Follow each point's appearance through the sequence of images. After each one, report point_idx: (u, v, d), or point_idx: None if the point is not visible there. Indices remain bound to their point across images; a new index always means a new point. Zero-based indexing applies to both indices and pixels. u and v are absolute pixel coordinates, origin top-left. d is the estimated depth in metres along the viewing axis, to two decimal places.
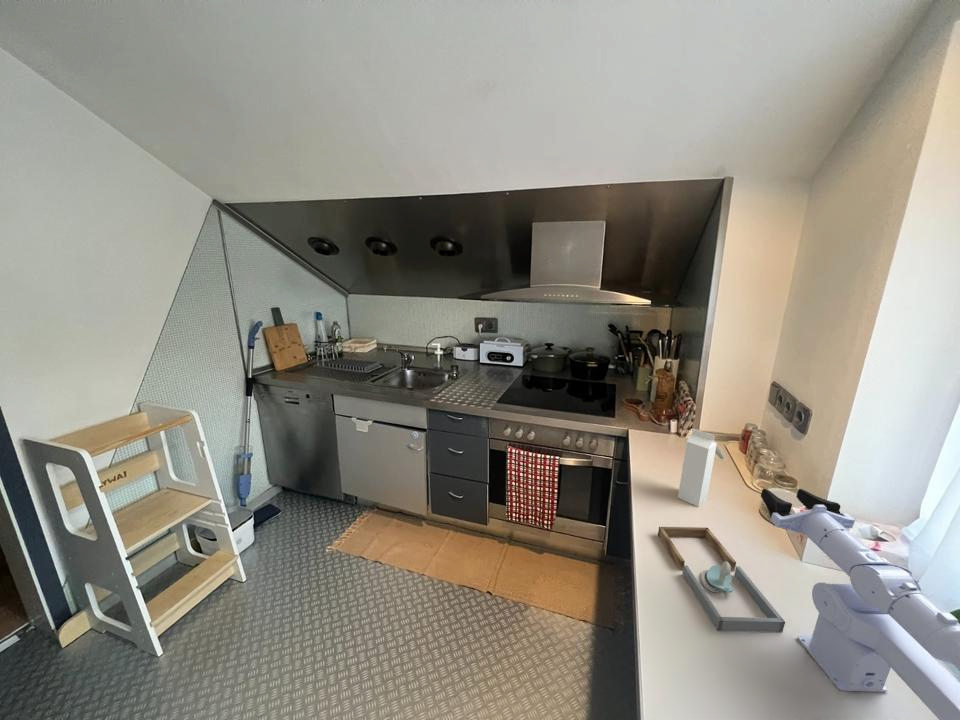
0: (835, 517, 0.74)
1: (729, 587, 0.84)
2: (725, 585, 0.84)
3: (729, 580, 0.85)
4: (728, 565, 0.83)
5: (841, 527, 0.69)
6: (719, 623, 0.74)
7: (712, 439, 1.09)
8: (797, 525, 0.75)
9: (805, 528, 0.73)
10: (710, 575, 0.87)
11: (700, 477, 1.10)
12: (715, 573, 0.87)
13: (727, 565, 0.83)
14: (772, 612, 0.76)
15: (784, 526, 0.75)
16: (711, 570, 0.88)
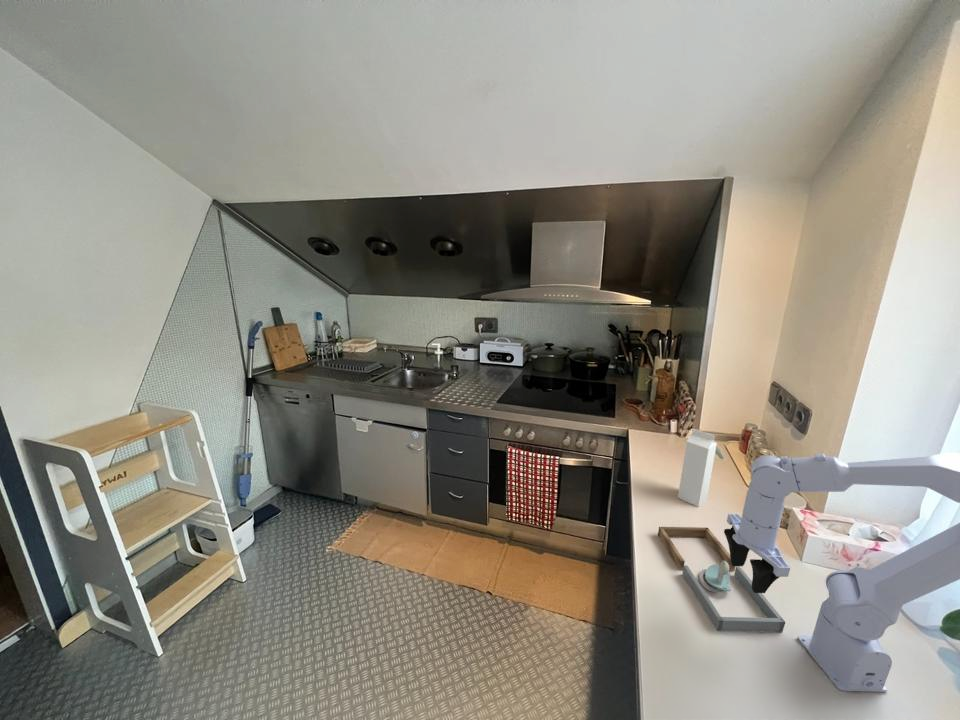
0: (737, 526, 0.77)
1: (727, 586, 0.84)
2: (723, 585, 0.84)
3: (728, 580, 0.85)
4: (726, 564, 0.83)
5: (743, 518, 0.73)
6: (719, 623, 0.74)
7: (712, 439, 1.09)
8: (771, 551, 0.70)
9: (768, 544, 0.70)
10: (708, 574, 0.87)
11: (700, 477, 1.10)
12: (713, 572, 0.87)
13: (725, 564, 0.83)
14: (772, 612, 0.76)
15: (782, 561, 0.68)
16: (709, 569, 0.88)
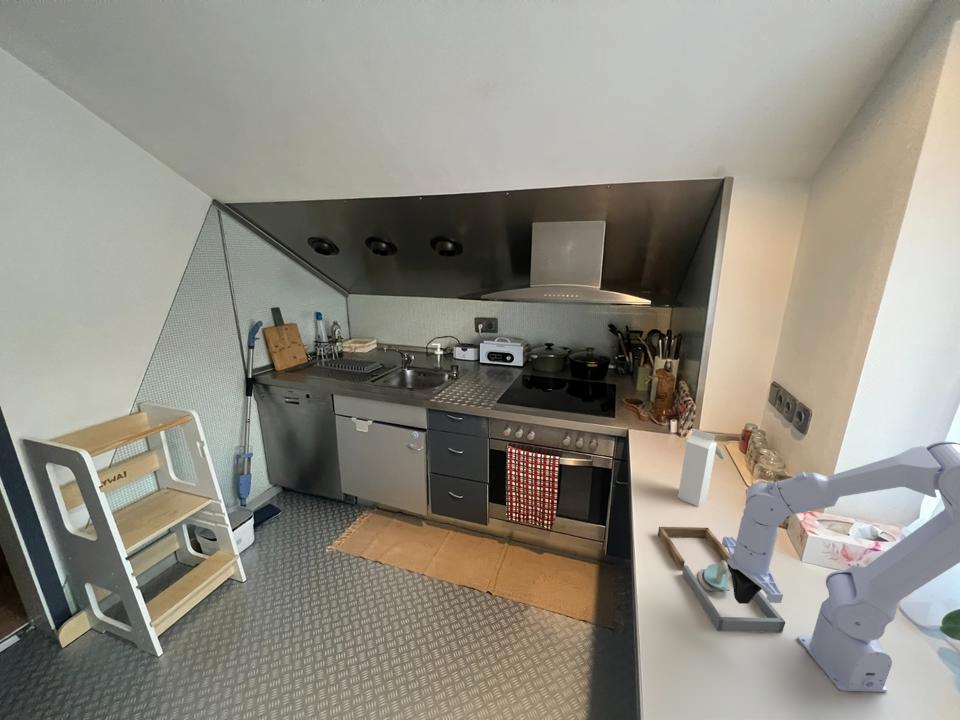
0: (732, 550, 0.79)
1: (726, 586, 0.84)
2: (722, 584, 0.84)
3: (727, 579, 0.86)
4: (725, 564, 0.84)
5: (738, 543, 0.74)
6: (719, 623, 0.74)
7: (712, 439, 1.09)
8: (765, 577, 0.72)
9: (762, 569, 0.72)
10: (707, 574, 0.87)
11: (700, 477, 1.10)
12: (712, 572, 0.87)
13: (724, 564, 0.83)
14: (772, 612, 0.76)
15: (775, 588, 0.69)
16: (708, 569, 0.88)
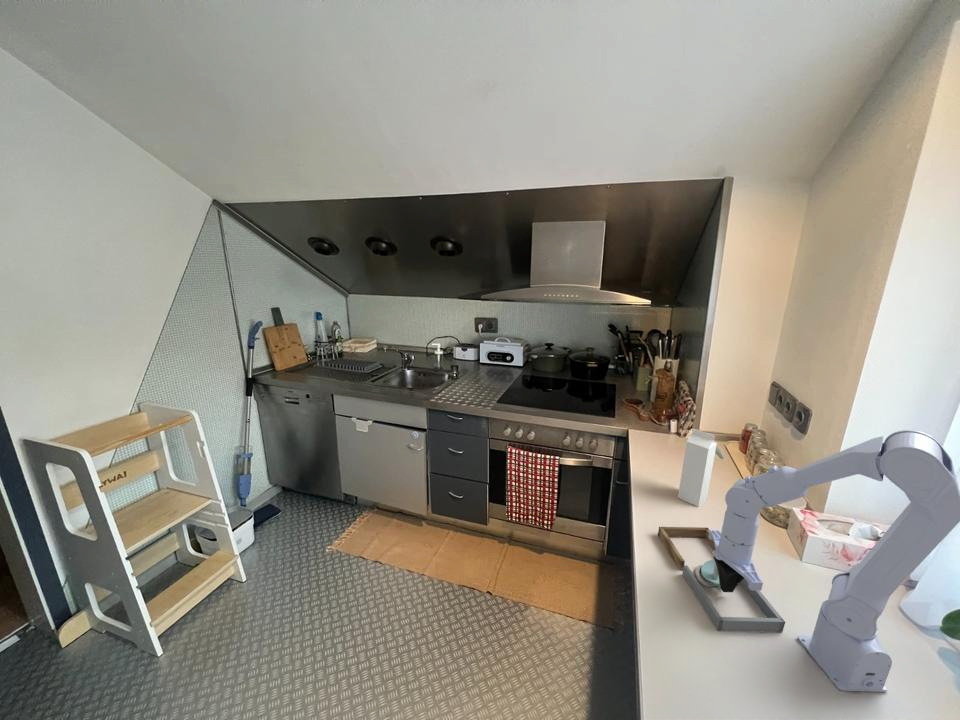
0: (717, 542, 0.83)
1: None
2: None
3: None
4: None
5: (722, 535, 0.79)
6: (719, 623, 0.74)
7: (712, 439, 1.09)
8: (747, 567, 0.77)
9: (744, 560, 0.77)
10: (704, 570, 0.88)
11: (700, 477, 1.10)
12: (709, 568, 0.88)
13: None
14: (772, 612, 0.76)
15: (756, 576, 0.74)
16: (706, 565, 0.89)
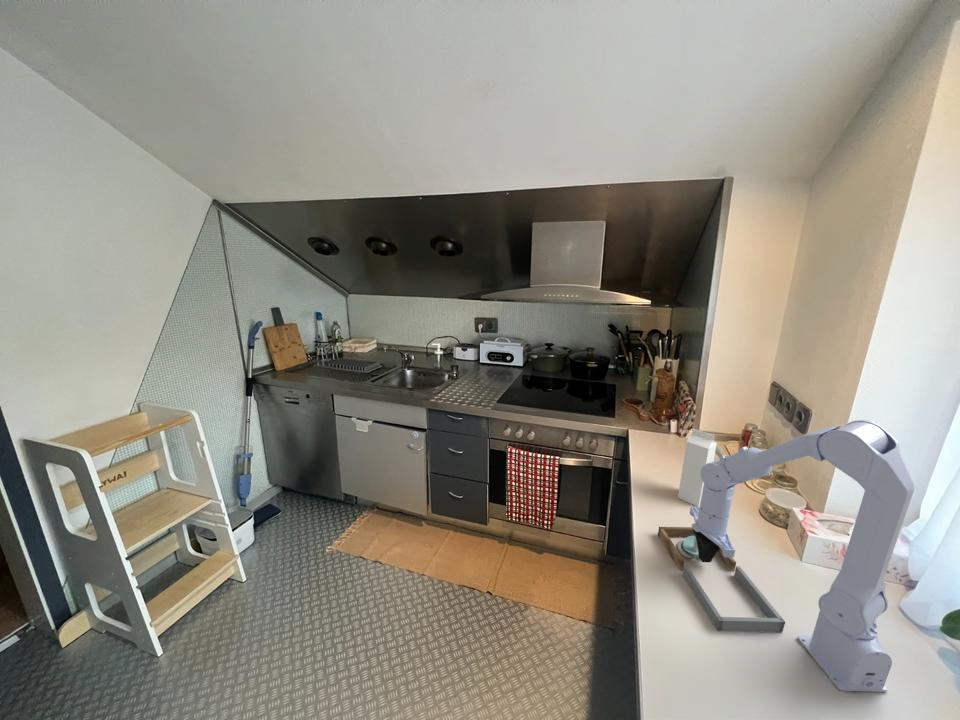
0: (697, 517, 0.92)
1: None
2: None
3: None
4: None
5: (700, 509, 0.87)
6: (719, 623, 0.74)
7: (712, 439, 1.09)
8: (722, 537, 0.85)
9: (719, 531, 0.85)
10: (686, 544, 0.96)
11: (700, 477, 1.10)
12: (691, 542, 0.97)
13: None
14: (772, 612, 0.76)
15: (730, 545, 0.82)
16: (687, 540, 0.97)
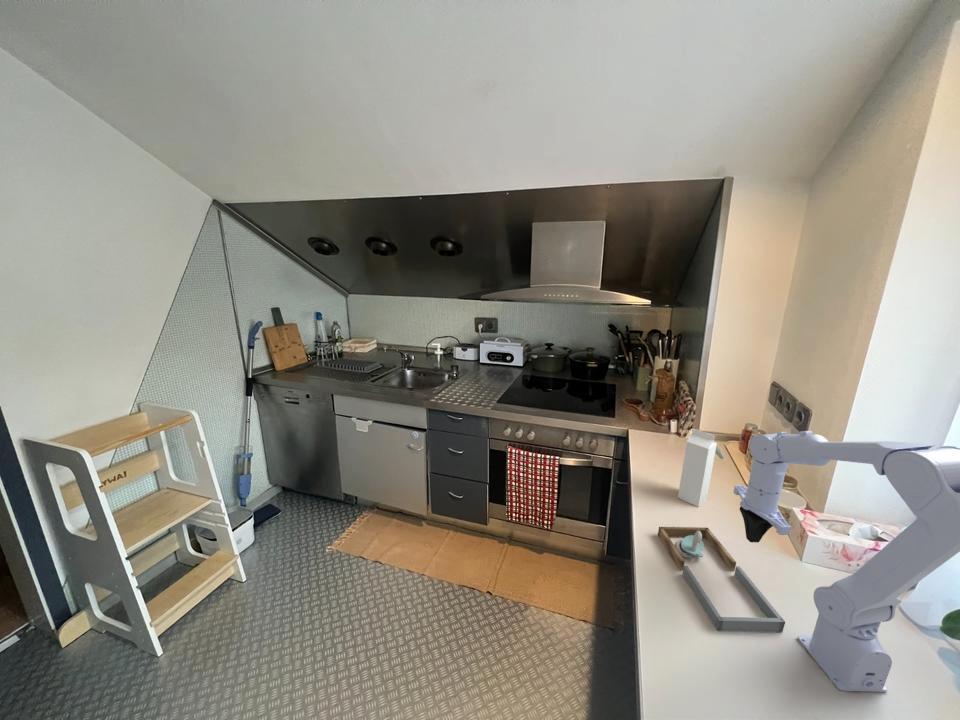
0: (743, 495, 0.87)
1: (700, 553, 0.93)
2: (697, 552, 0.94)
3: (701, 548, 0.95)
4: (699, 533, 0.93)
5: (749, 486, 0.83)
6: (719, 623, 0.74)
7: (712, 439, 1.09)
8: (774, 514, 0.81)
9: (771, 508, 0.81)
10: (684, 543, 0.96)
11: (700, 477, 1.10)
12: (689, 542, 0.97)
13: (698, 533, 0.93)
14: (772, 612, 0.76)
15: (784, 522, 0.78)
16: (686, 539, 0.97)
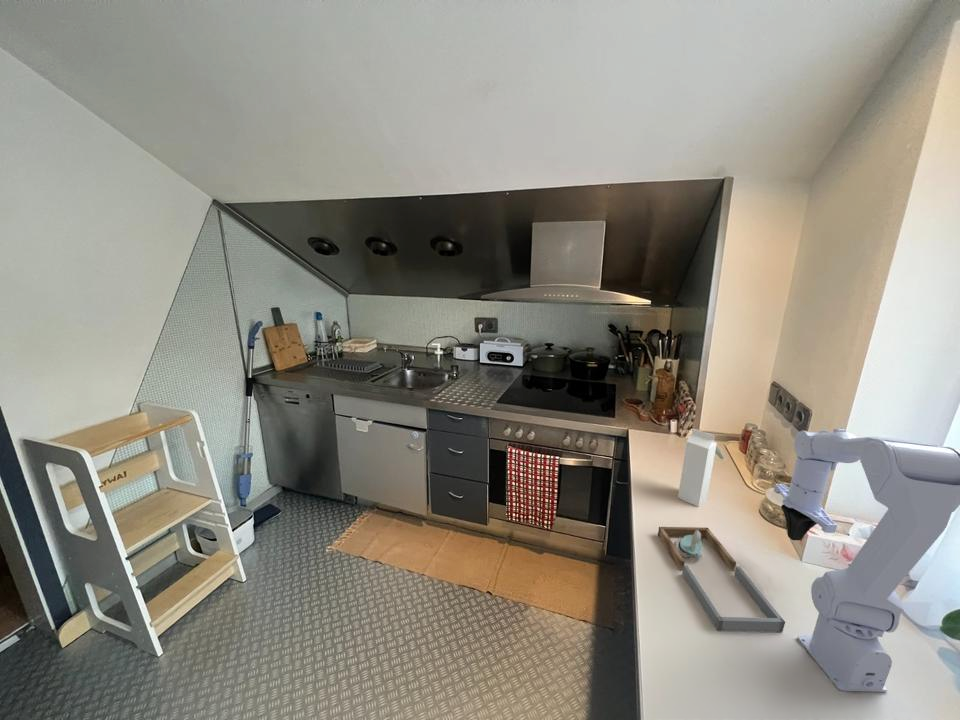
0: (784, 494, 0.88)
1: (699, 553, 0.93)
2: (695, 551, 0.94)
3: (700, 548, 0.95)
4: (698, 533, 0.93)
5: (792, 485, 0.84)
6: (719, 623, 0.74)
7: (712, 439, 1.09)
8: (818, 513, 0.81)
9: (816, 506, 0.81)
10: (683, 543, 0.96)
11: (700, 477, 1.10)
12: (688, 541, 0.97)
13: (697, 533, 0.93)
14: (772, 612, 0.76)
15: (829, 520, 0.79)
16: (685, 539, 0.97)
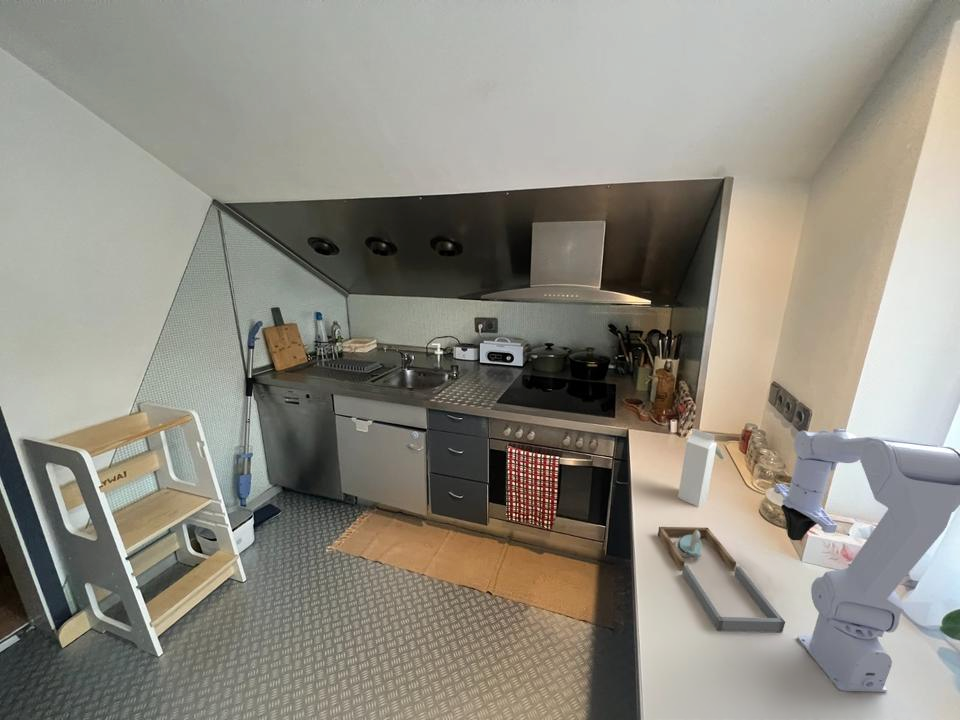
0: (784, 494, 0.88)
1: (699, 553, 0.93)
2: (695, 551, 0.94)
3: (700, 547, 0.95)
4: (698, 533, 0.93)
5: (792, 485, 0.84)
6: (719, 623, 0.74)
7: (712, 439, 1.09)
8: (818, 513, 0.81)
9: (816, 506, 0.81)
10: (683, 543, 0.96)
11: (700, 477, 1.10)
12: (687, 541, 0.97)
13: (697, 533, 0.93)
14: (772, 612, 0.76)
15: (829, 520, 0.79)
16: (684, 539, 0.97)
